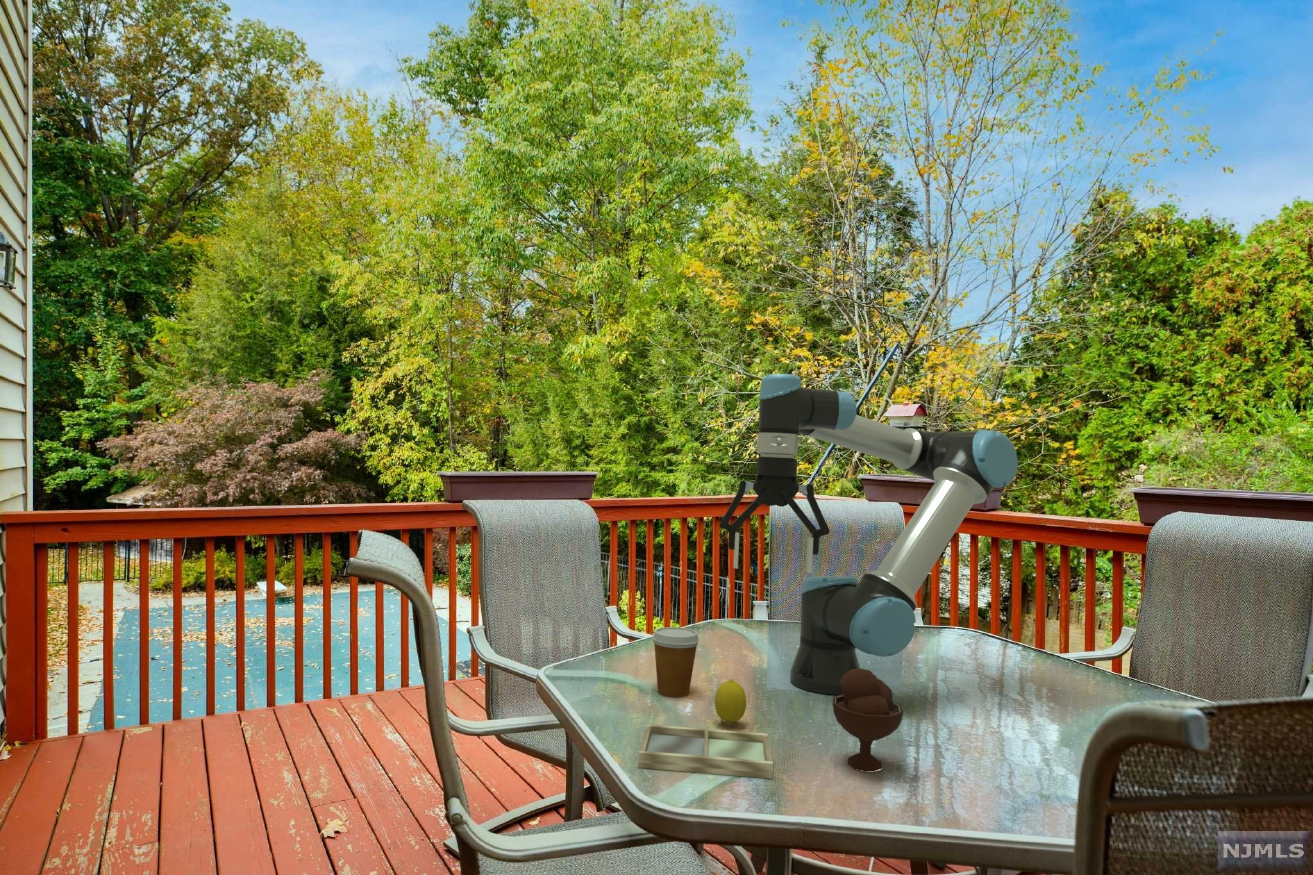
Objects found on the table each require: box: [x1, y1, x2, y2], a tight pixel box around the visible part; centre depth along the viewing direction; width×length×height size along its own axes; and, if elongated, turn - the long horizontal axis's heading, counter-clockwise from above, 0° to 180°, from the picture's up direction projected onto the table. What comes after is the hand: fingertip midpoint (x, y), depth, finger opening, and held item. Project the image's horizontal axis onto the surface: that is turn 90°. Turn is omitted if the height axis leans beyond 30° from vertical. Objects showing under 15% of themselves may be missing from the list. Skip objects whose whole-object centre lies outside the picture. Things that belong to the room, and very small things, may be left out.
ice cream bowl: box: [832, 667, 904, 773], centre depth 115 cm, size 11×11×15 cm
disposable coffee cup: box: [651, 626, 700, 698], centre depth 147 cm, size 10×10×12 cm
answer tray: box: [637, 724, 774, 779], centre depth 115 cm, size 20×12×2 cm, turn 85°
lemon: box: [714, 678, 747, 726], centre depth 130 cm, size 6×6×8 cm
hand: (772, 569), depth 137 cm, fingers open, 13 cm apart
